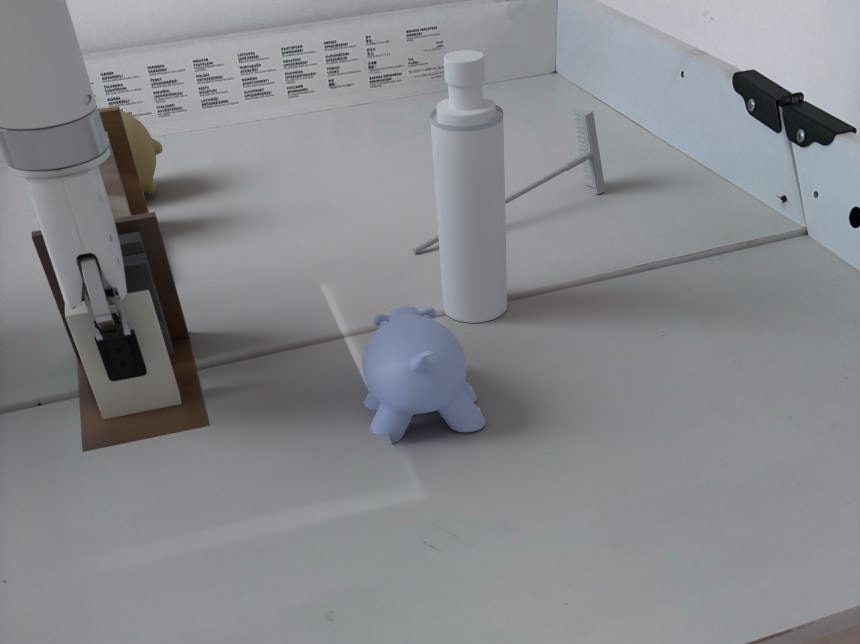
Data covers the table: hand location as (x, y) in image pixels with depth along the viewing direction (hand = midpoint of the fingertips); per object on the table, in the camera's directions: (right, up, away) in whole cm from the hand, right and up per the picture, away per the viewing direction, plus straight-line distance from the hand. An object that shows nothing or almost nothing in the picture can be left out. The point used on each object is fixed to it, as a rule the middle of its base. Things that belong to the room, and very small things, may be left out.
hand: (125, 357), depth 85 cm
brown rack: (-1, -2, +7) cm, 7 cm away
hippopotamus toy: (+26, -4, +4) cm, 26 cm away
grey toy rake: (+35, +26, +32) cm, 54 cm away
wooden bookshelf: (-12, +20, +28) cm, 37 cm away
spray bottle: (+31, +10, +17) cm, 36 cm away
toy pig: (-15, +33, +41) cm, 55 cm away
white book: (0, -3, +4) cm, 5 cm away
